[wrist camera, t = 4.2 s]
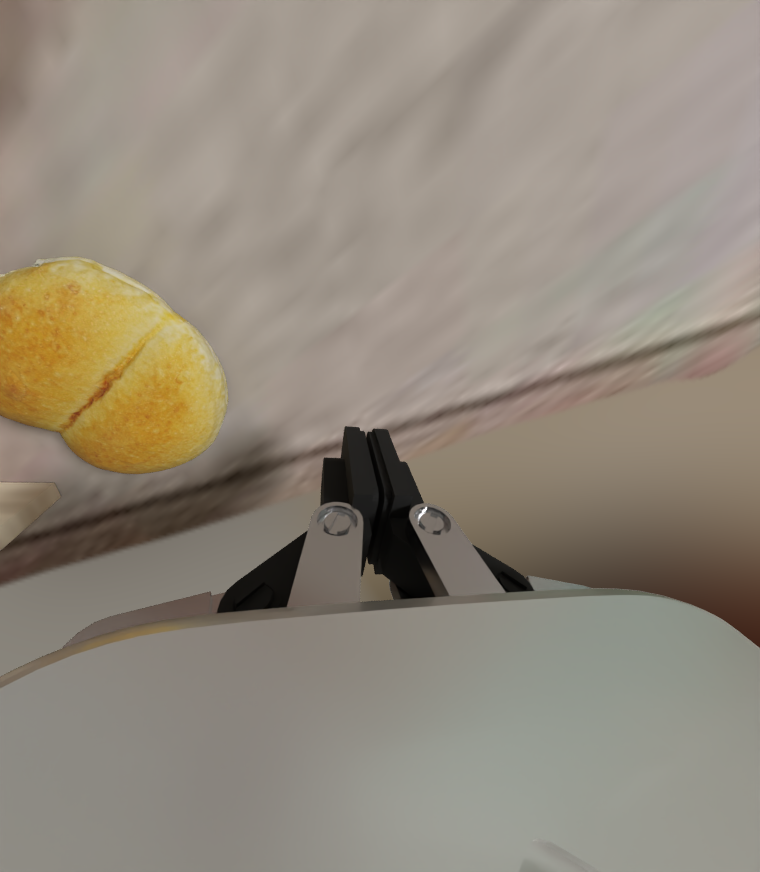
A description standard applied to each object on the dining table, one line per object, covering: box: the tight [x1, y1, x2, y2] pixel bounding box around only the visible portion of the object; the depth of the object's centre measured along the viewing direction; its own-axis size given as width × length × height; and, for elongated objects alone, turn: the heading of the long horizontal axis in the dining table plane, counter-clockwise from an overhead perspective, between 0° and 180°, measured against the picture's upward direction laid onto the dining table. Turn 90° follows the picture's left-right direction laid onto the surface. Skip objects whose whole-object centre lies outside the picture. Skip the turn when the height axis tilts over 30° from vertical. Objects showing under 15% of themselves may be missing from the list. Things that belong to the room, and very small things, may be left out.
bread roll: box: [0, 257, 228, 474], centre depth 12 cm, size 8×9×4 cm
